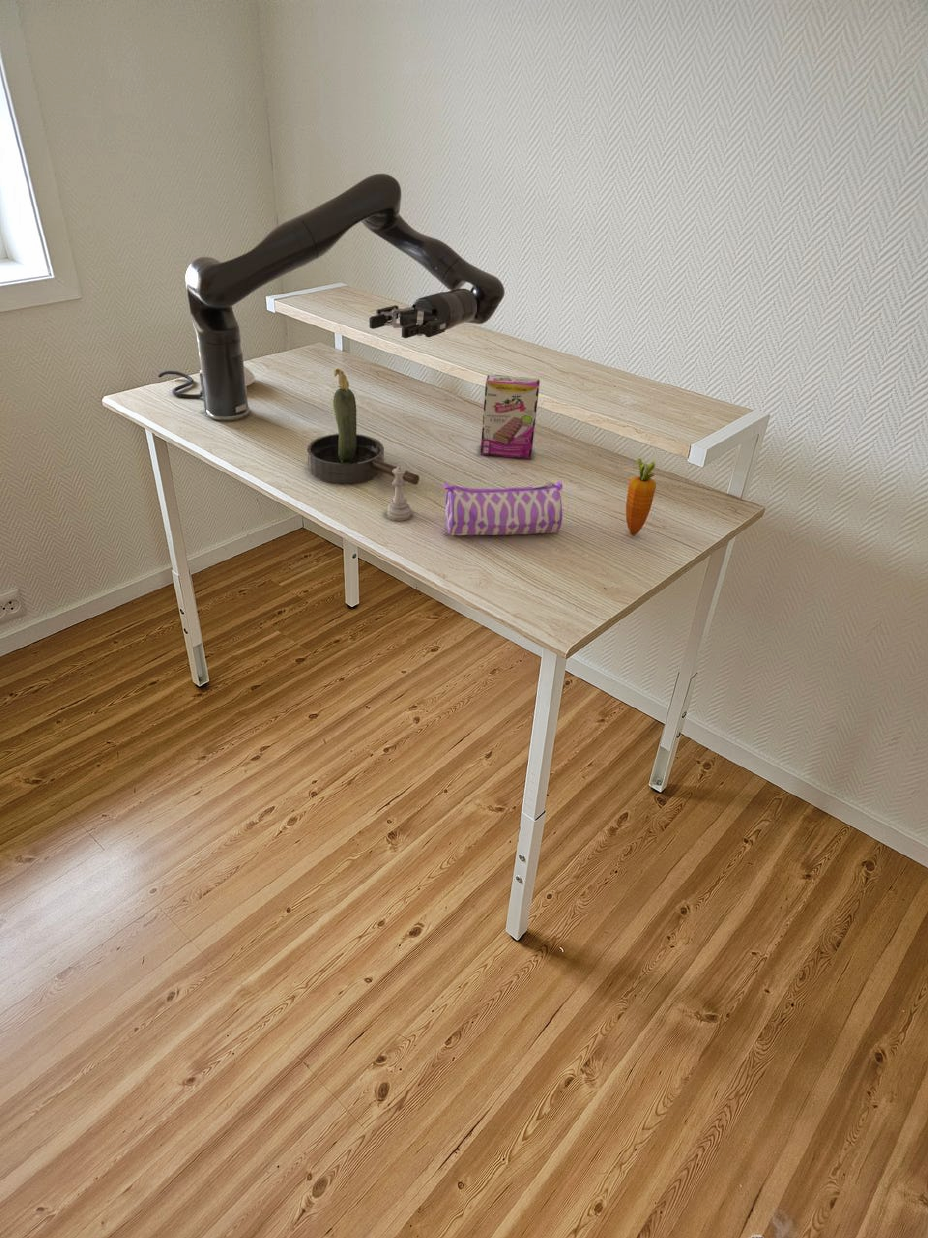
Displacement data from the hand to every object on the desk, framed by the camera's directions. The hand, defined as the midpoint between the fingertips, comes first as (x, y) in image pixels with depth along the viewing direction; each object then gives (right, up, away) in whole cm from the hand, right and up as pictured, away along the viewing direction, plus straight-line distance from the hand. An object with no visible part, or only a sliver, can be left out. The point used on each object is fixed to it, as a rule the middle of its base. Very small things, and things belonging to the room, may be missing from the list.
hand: (386, 327), depth 163 cm
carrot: (+46, -42, -11) cm, 64 cm away
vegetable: (-9, -26, +6) cm, 28 cm away
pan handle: (+2, -29, -1) cm, 30 cm away
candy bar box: (+24, -22, +17) cm, 37 cm away
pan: (-9, -27, +6) cm, 29 cm away
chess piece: (+3, -38, -9) cm, 39 cm away
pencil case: (+22, -42, -12) cm, 49 cm away
